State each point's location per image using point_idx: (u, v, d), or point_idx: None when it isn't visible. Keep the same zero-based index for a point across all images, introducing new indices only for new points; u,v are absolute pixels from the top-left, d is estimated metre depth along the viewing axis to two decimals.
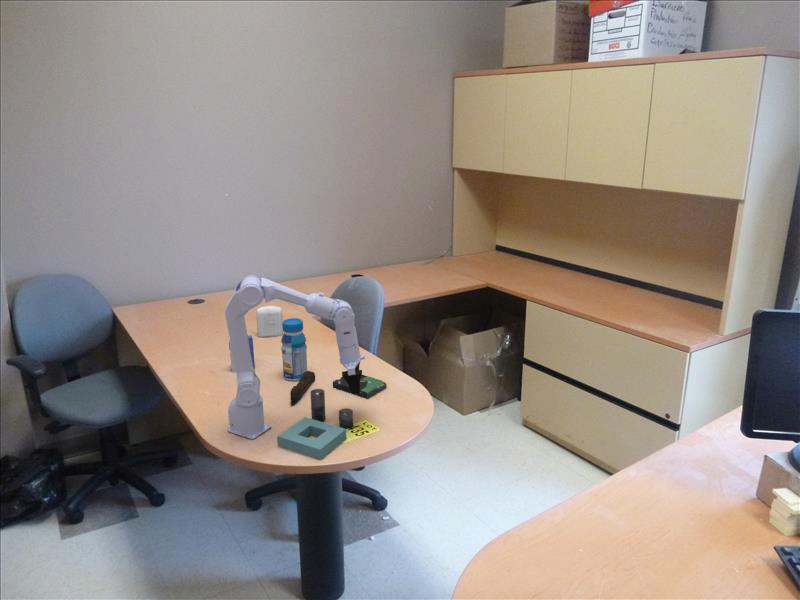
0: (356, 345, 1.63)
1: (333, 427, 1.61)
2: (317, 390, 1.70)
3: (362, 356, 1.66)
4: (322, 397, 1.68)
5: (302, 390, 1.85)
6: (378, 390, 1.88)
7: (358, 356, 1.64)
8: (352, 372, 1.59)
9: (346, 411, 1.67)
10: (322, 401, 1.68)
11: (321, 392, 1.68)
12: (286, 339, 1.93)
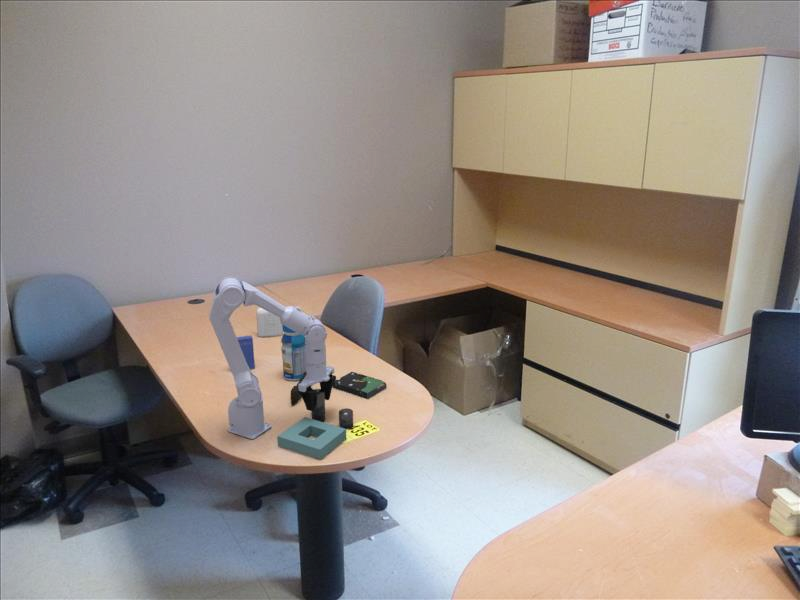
0: (319, 365, 1.64)
1: (333, 427, 1.61)
2: (317, 390, 1.70)
3: (325, 378, 1.65)
4: (322, 397, 1.68)
5: None
6: (378, 389, 1.88)
7: (320, 376, 1.65)
8: (302, 389, 1.61)
9: (346, 411, 1.67)
10: (322, 401, 1.68)
11: (321, 392, 1.68)
12: (286, 339, 1.93)
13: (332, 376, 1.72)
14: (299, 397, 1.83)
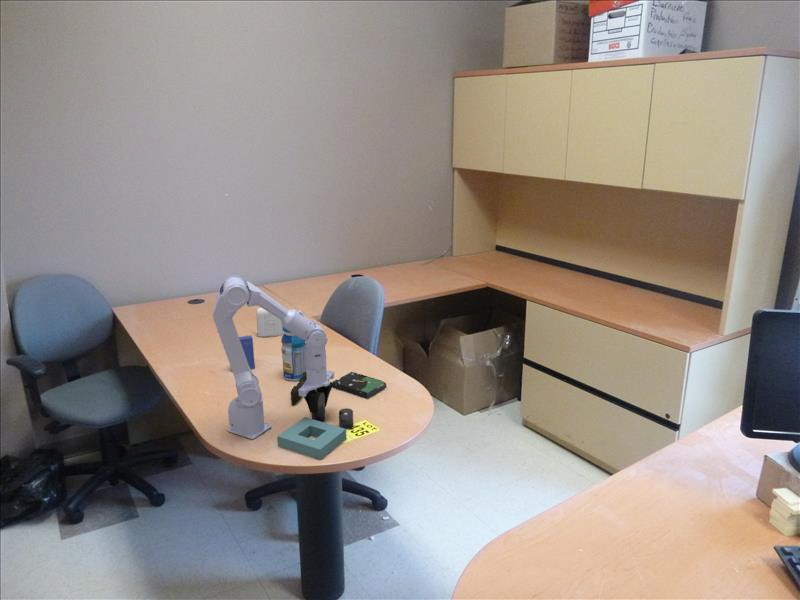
0: (319, 370, 1.64)
1: (333, 427, 1.61)
2: (317, 390, 1.70)
3: (326, 383, 1.66)
4: (322, 397, 1.68)
5: None
6: (378, 389, 1.88)
7: (320, 381, 1.65)
8: (302, 394, 1.62)
9: (346, 411, 1.67)
10: (322, 401, 1.68)
11: (321, 392, 1.68)
12: (286, 339, 1.93)
13: None
14: (299, 397, 1.83)
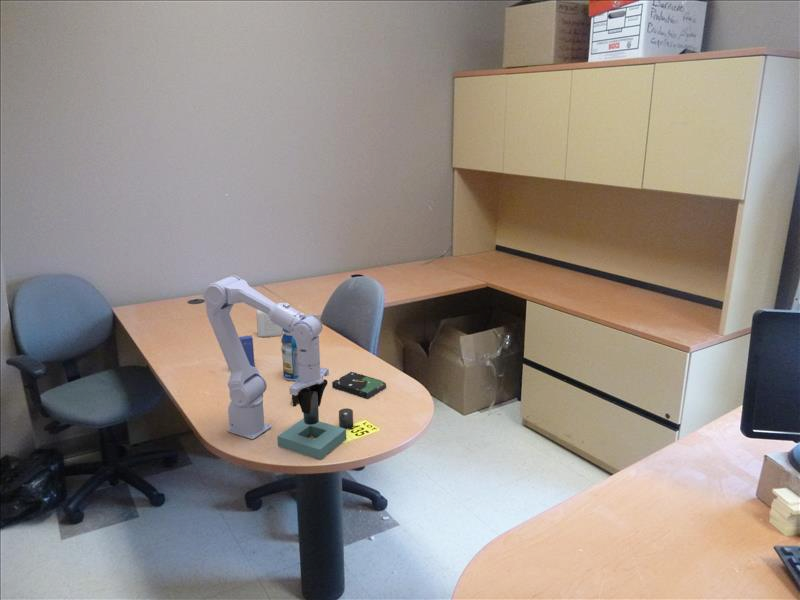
0: (312, 366, 1.50)
1: (333, 427, 1.61)
2: (310, 389, 1.56)
3: (319, 380, 1.52)
4: (314, 397, 1.54)
5: None
6: (378, 389, 1.88)
7: (313, 379, 1.51)
8: (293, 392, 1.48)
9: (346, 411, 1.67)
10: (314, 401, 1.55)
11: (313, 391, 1.55)
12: (286, 339, 1.93)
13: None
14: None
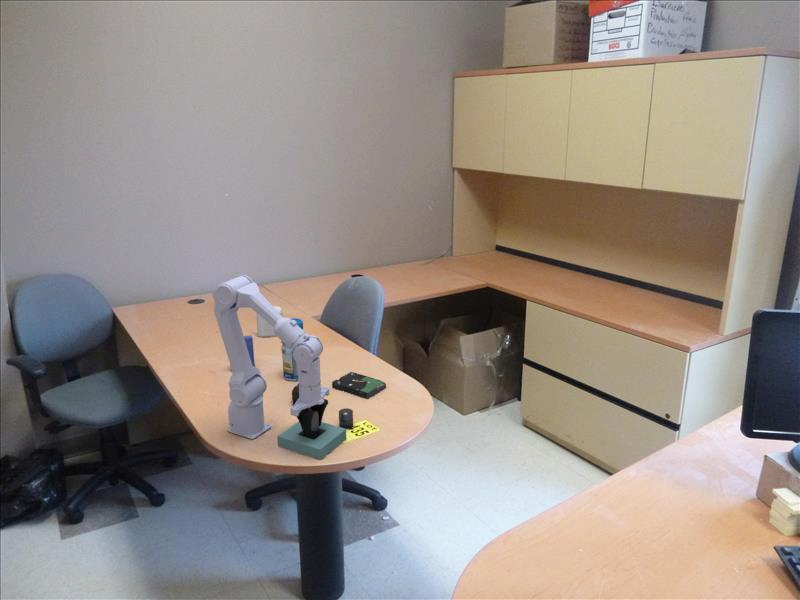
0: (313, 387, 1.52)
1: (333, 427, 1.61)
2: (311, 409, 1.58)
3: (320, 401, 1.54)
4: (315, 417, 1.56)
5: None
6: (378, 390, 1.88)
7: (314, 399, 1.53)
8: (294, 413, 1.50)
9: (346, 411, 1.67)
10: (315, 421, 1.56)
11: (314, 411, 1.56)
12: None
13: None
14: None
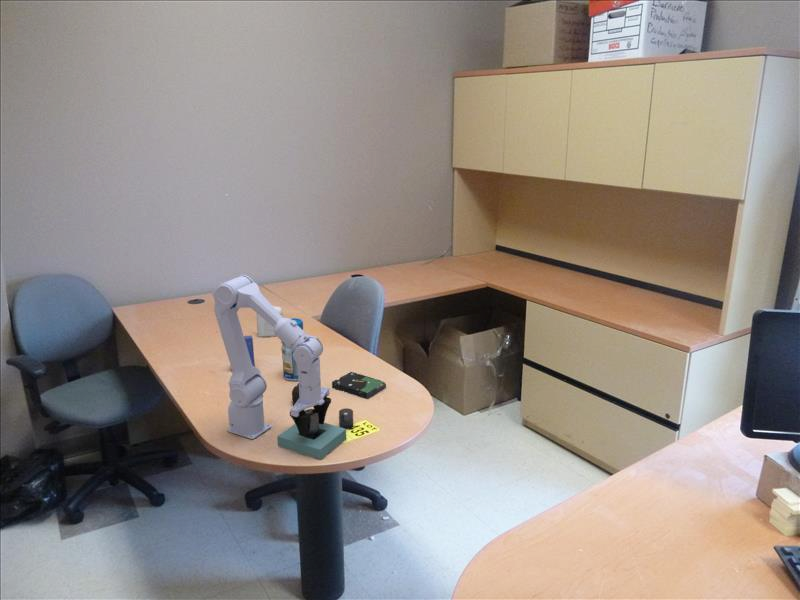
0: (313, 388, 1.52)
1: (333, 427, 1.61)
2: (311, 410, 1.58)
3: (320, 401, 1.54)
4: (315, 418, 1.56)
5: None
6: (378, 390, 1.88)
7: (314, 400, 1.53)
8: (294, 414, 1.50)
9: (346, 411, 1.67)
10: (315, 423, 1.56)
11: (314, 413, 1.56)
12: None
13: (327, 398, 1.60)
14: None
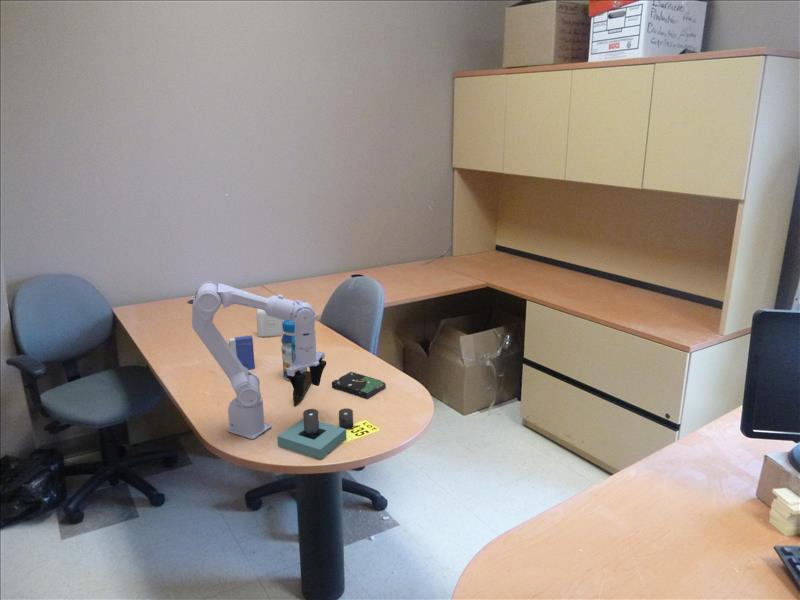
0: (308, 349, 1.60)
1: (333, 427, 1.61)
2: (311, 410, 1.58)
3: (315, 362, 1.62)
4: (315, 418, 1.56)
5: (303, 390, 1.85)
6: (378, 390, 1.88)
7: (309, 361, 1.61)
8: (290, 373, 1.58)
9: (346, 411, 1.67)
10: (315, 423, 1.56)
11: (314, 413, 1.56)
12: (286, 339, 1.93)
13: (322, 361, 1.68)
14: (301, 397, 1.83)
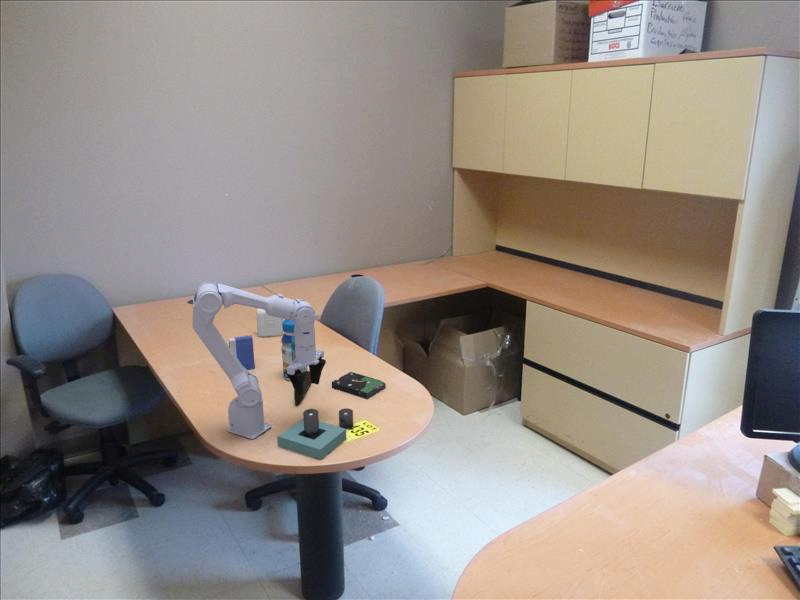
0: (308, 348, 1.61)
1: (333, 427, 1.61)
2: (311, 410, 1.58)
3: (315, 361, 1.63)
4: (315, 418, 1.56)
5: (304, 390, 1.85)
6: (377, 390, 1.88)
7: (309, 359, 1.62)
8: (290, 372, 1.59)
9: (346, 411, 1.67)
10: (315, 423, 1.56)
11: (314, 413, 1.56)
12: (286, 339, 1.93)
13: (322, 360, 1.69)
14: (302, 397, 1.83)
